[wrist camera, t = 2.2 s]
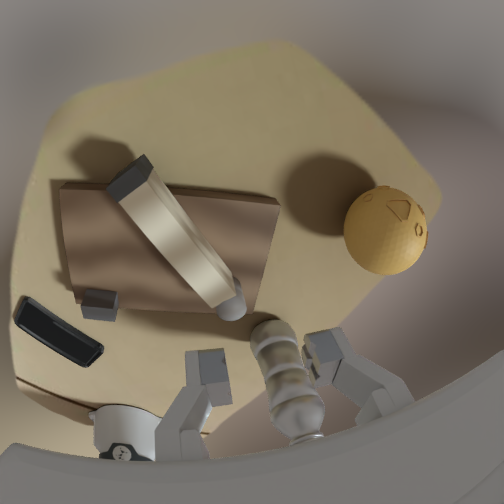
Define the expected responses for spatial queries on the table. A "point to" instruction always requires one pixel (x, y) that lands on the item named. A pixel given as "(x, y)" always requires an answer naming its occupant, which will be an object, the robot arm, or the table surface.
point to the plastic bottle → (287, 382)
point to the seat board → (150, 258)
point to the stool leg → (177, 237)
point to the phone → (57, 333)
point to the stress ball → (385, 230)
